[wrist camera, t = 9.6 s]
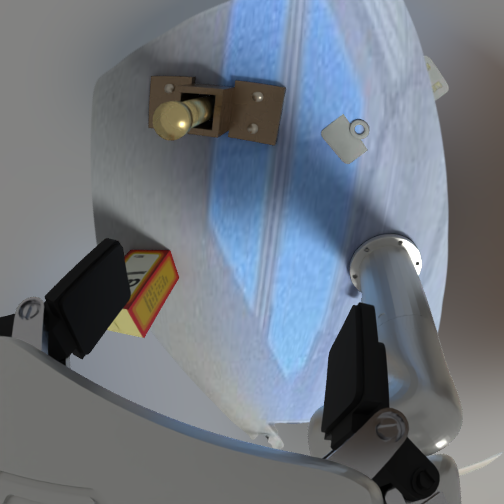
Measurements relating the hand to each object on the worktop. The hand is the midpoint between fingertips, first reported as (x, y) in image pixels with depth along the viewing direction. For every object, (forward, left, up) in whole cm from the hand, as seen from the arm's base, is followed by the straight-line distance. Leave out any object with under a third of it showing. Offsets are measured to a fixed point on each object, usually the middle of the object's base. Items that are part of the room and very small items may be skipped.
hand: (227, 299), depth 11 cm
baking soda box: (-29, +21, -31) cm, 47 cm away
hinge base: (+2, +11, -31) cm, 33 cm away
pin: (+2, +11, -31) cm, 33 cm away
